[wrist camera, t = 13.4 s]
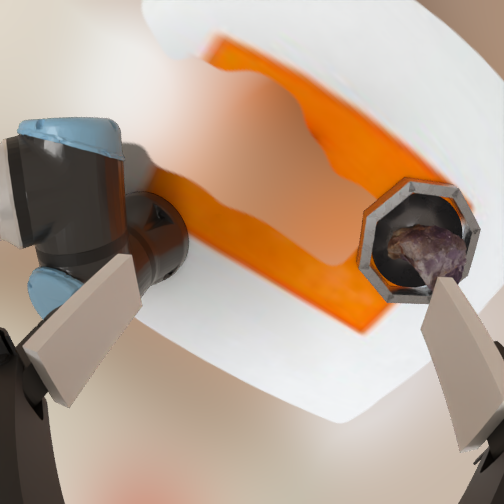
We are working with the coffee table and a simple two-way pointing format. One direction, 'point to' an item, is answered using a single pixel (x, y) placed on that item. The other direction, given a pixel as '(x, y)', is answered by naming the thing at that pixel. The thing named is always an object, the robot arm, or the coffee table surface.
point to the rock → (430, 252)
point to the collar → (407, 216)
